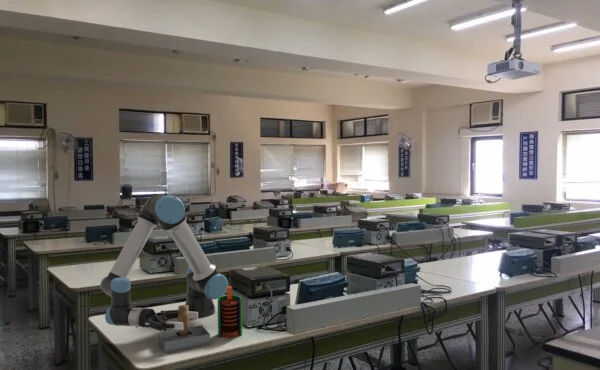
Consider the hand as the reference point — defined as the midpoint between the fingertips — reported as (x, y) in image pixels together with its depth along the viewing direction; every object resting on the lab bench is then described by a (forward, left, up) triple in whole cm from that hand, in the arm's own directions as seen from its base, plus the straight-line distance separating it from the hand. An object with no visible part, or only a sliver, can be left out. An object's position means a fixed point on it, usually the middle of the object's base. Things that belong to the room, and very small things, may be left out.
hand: (190, 320), depth 194 cm
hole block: (+2, -2, -10) cm, 10 cm away
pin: (+2, -2, -9) cm, 10 cm away
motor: (-18, -4, -10) cm, 21 cm away
